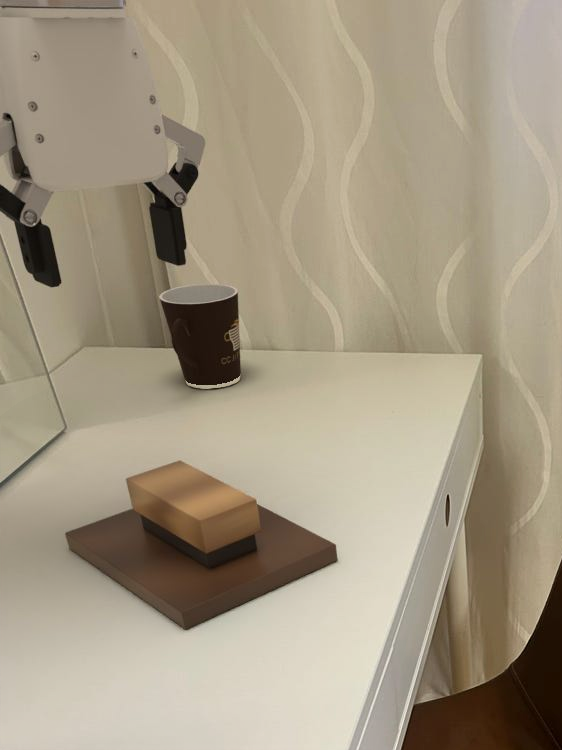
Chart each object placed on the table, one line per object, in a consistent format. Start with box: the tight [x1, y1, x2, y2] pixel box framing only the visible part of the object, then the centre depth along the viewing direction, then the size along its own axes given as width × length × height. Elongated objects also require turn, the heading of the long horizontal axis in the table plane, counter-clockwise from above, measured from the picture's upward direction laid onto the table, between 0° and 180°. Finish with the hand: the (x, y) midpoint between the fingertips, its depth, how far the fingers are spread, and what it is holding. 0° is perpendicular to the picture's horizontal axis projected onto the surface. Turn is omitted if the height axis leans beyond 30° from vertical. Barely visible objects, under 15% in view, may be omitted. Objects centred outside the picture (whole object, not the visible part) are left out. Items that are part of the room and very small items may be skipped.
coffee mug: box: [158, 283, 242, 385], centre depth 111 cm, size 12×9×10 cm
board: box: [64, 503, 338, 630], centre depth 79 cm, size 18×14×2 cm
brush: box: [125, 459, 261, 568], centre depth 77 cm, size 11×5×4 cm, turn 46°
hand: (112, 272), depth 71 cm, fingers open, 9 cm apart
